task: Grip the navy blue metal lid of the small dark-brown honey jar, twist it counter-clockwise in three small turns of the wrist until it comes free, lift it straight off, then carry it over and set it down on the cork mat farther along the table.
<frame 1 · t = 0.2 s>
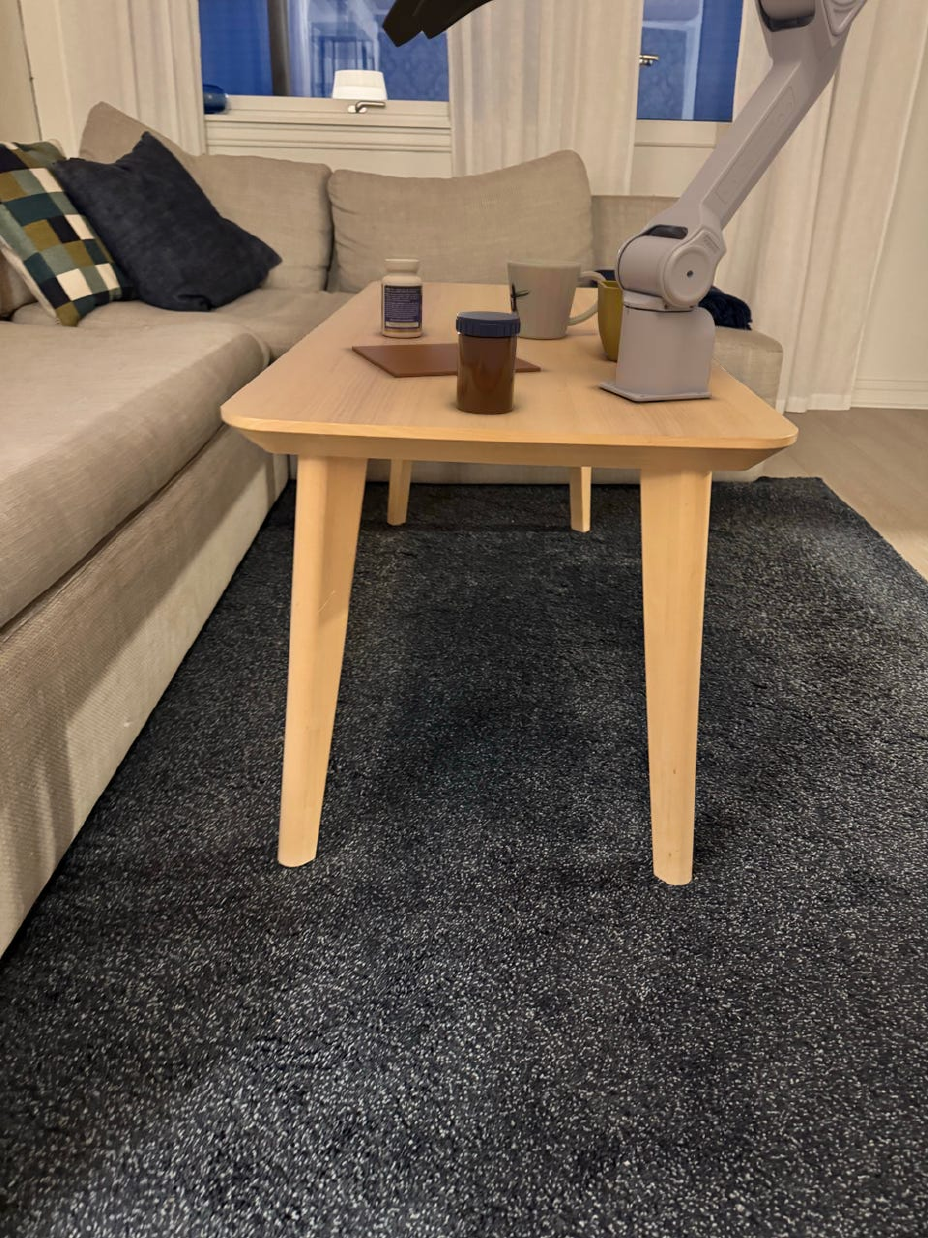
hand: (405, 32, 74), 31 cm above the table, tool tilted 45°, fingers open, 7 cm apart
mug: (554, 337, 132), on the table
pill bottle: (401, 336, 128), on the table
mat: (442, 359, 111), on the table
flower pot: (628, 360, 117), on the table
lid: (488, 319, 85), point 8 cm above the table, screwed on, not yet turned
jar: (484, 407, 89), on the table
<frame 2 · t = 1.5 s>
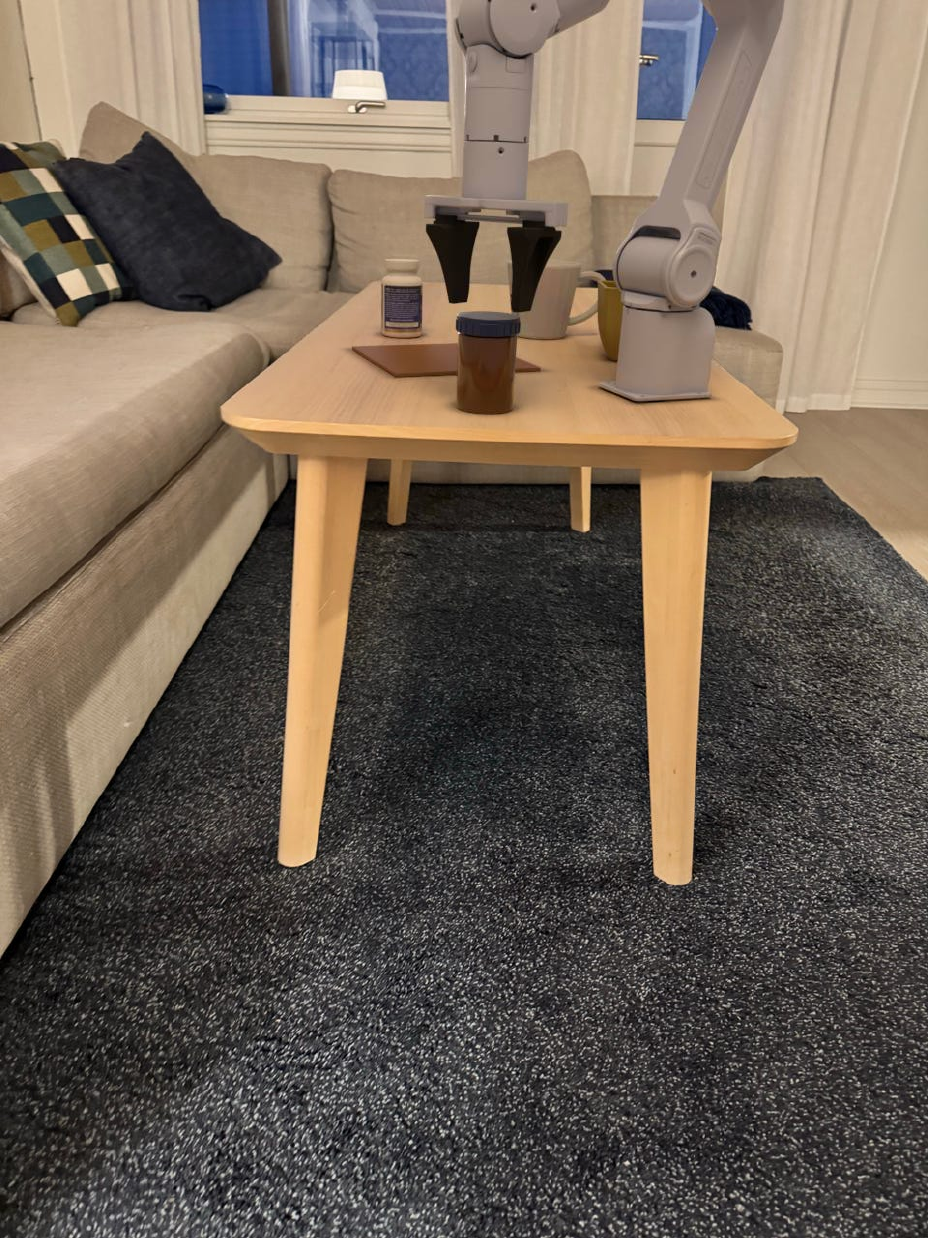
hand: (489, 306, 85), 9 cm above the table, tool pointing down, fingers open, 7 cm apart
nothing on the table moved.
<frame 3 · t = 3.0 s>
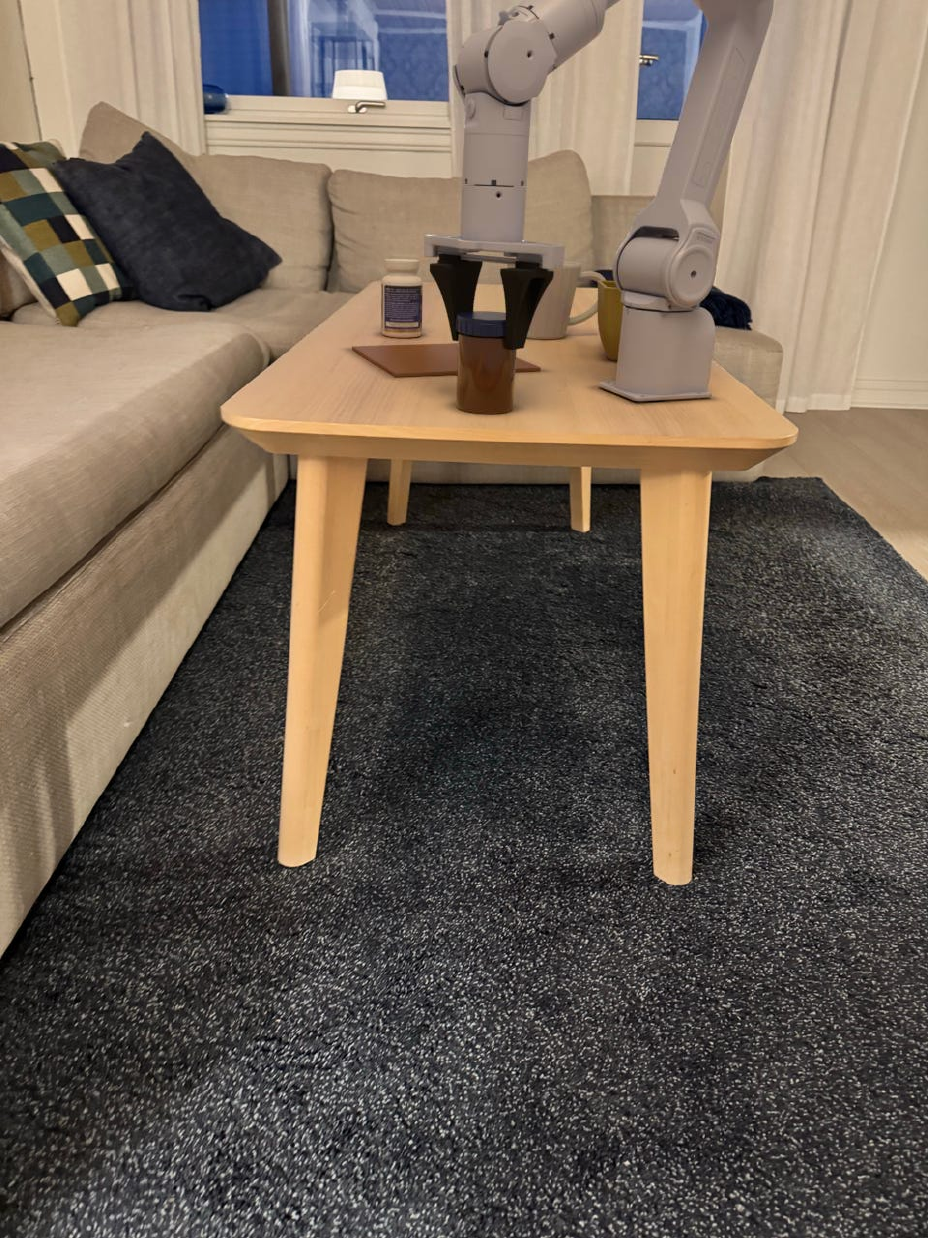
hand: (487, 344, 86), 6 cm above the table, tool pointing down, fingers closed on lid, 6 cm apart
lid: (488, 319, 85), point 8 cm above the table, screwed on, not yet turned, touching gripper
everything else where it was.
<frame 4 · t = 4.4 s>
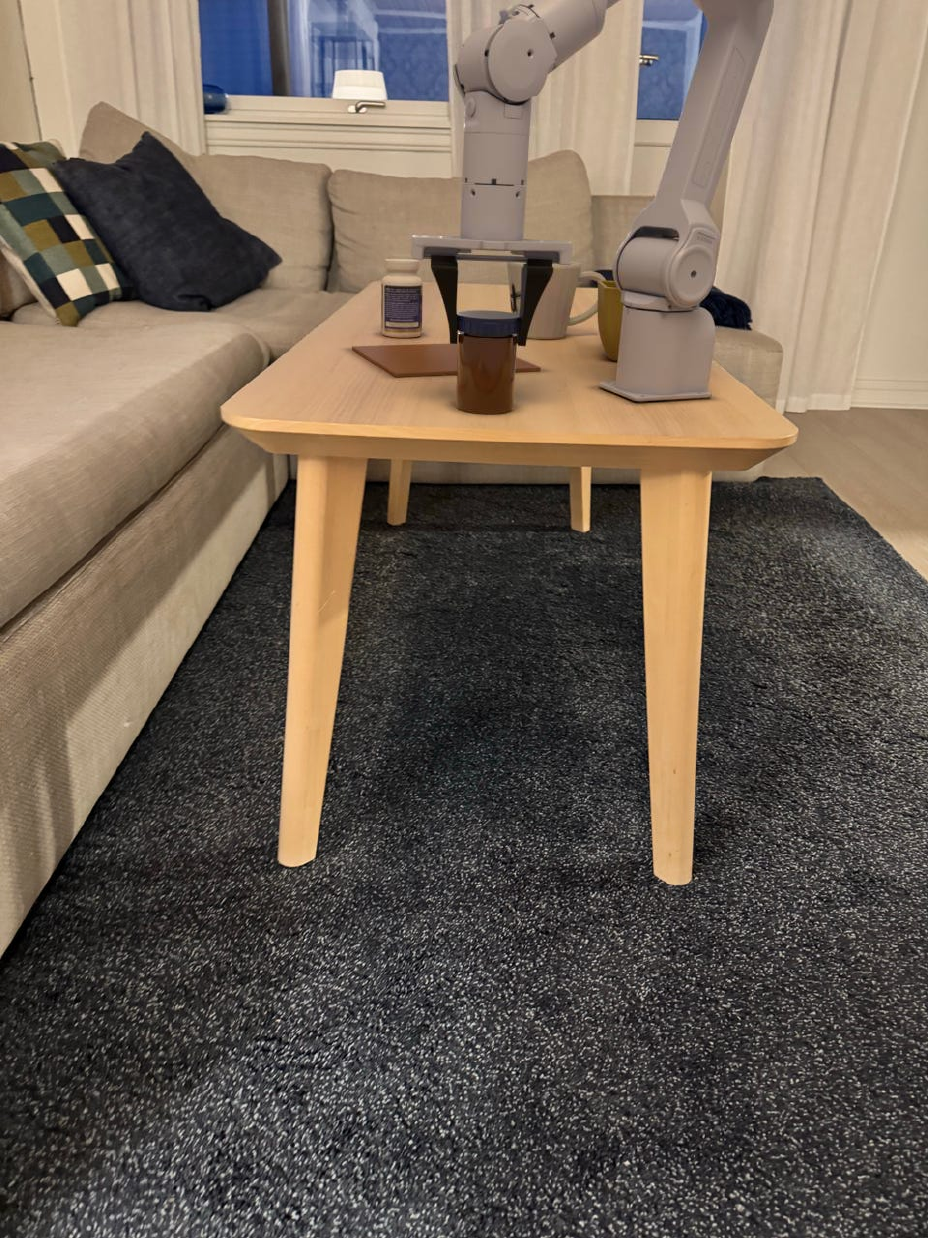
hand: (486, 343, 86), 6 cm above the table, tool pointing down, fingers closed on lid, 6 cm apart
lid: (488, 318, 85), point 8 cm above the table, turned 40° so far, risen 0.1 cm, still on its thread, touching gripper
everything else where it was.
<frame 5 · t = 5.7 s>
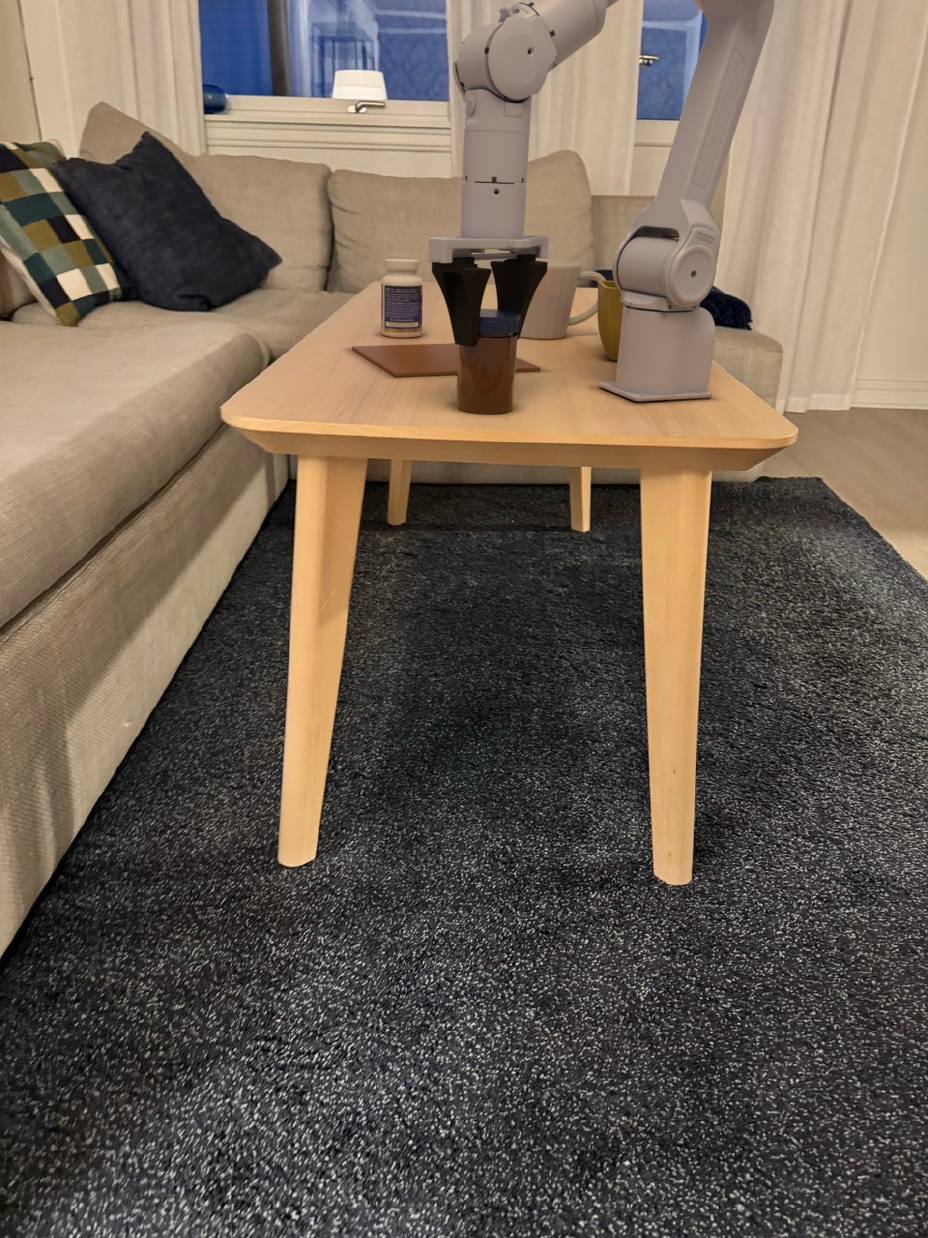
hand: (487, 341, 86), 6 cm above the table, tool pointing down, fingers closed on lid, 6 cm apart
lid: (488, 316, 85), point 9 cm above the table, turned 85° so far, risen 0.2 cm, still on its thread, touching gripper
everything else where it was.
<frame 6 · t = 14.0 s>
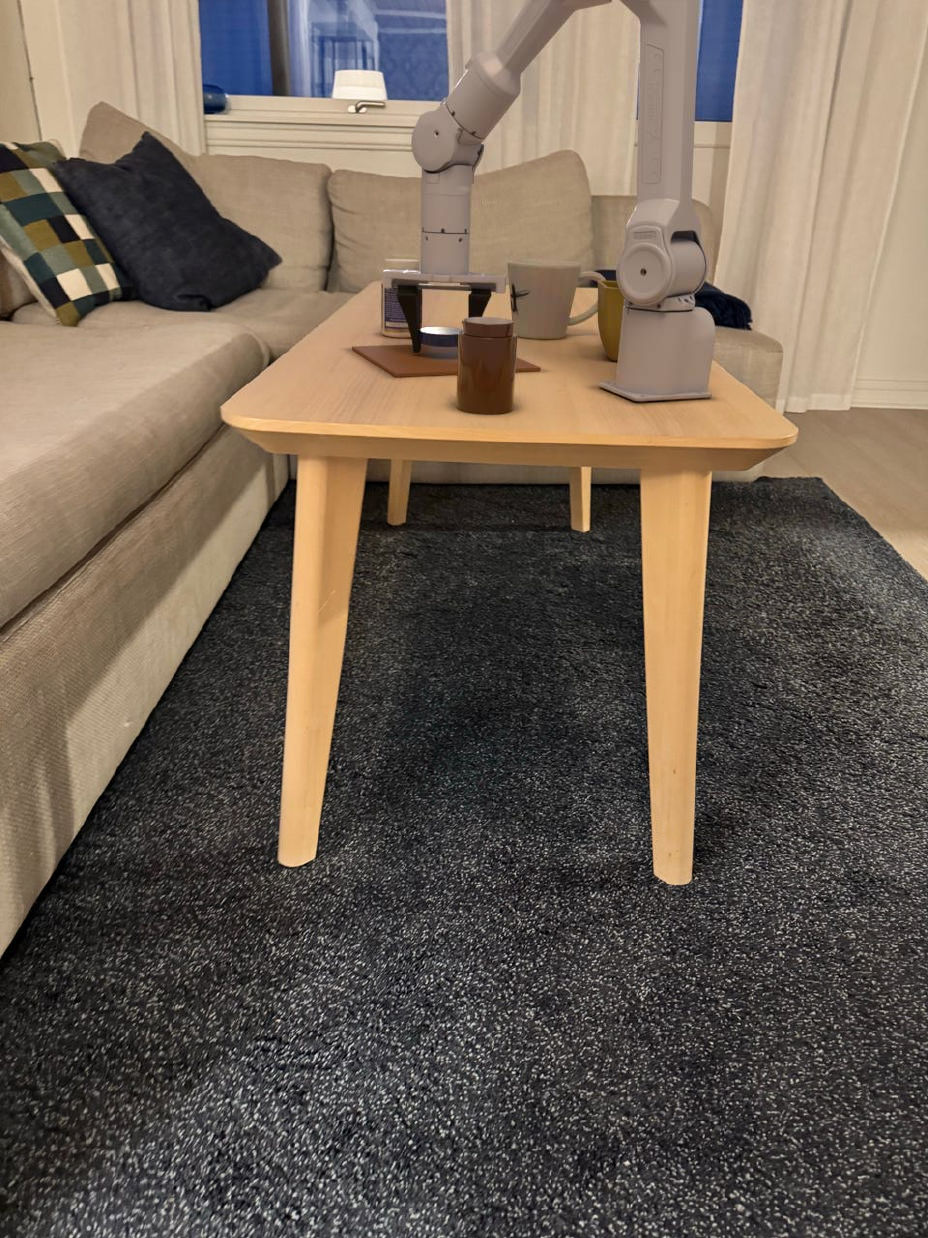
hand: (442, 352, 111), 1 cm above the table, tool pointing down, fingers closed on lid, 6 cm apart
lid: (443, 333, 110), point 3 cm above the table, off its thread, touching gripper
everything else where it was.
when the fingers open (2 cm above the table, at t = 21.8 s): lid drops 3 cm, resting on mat.
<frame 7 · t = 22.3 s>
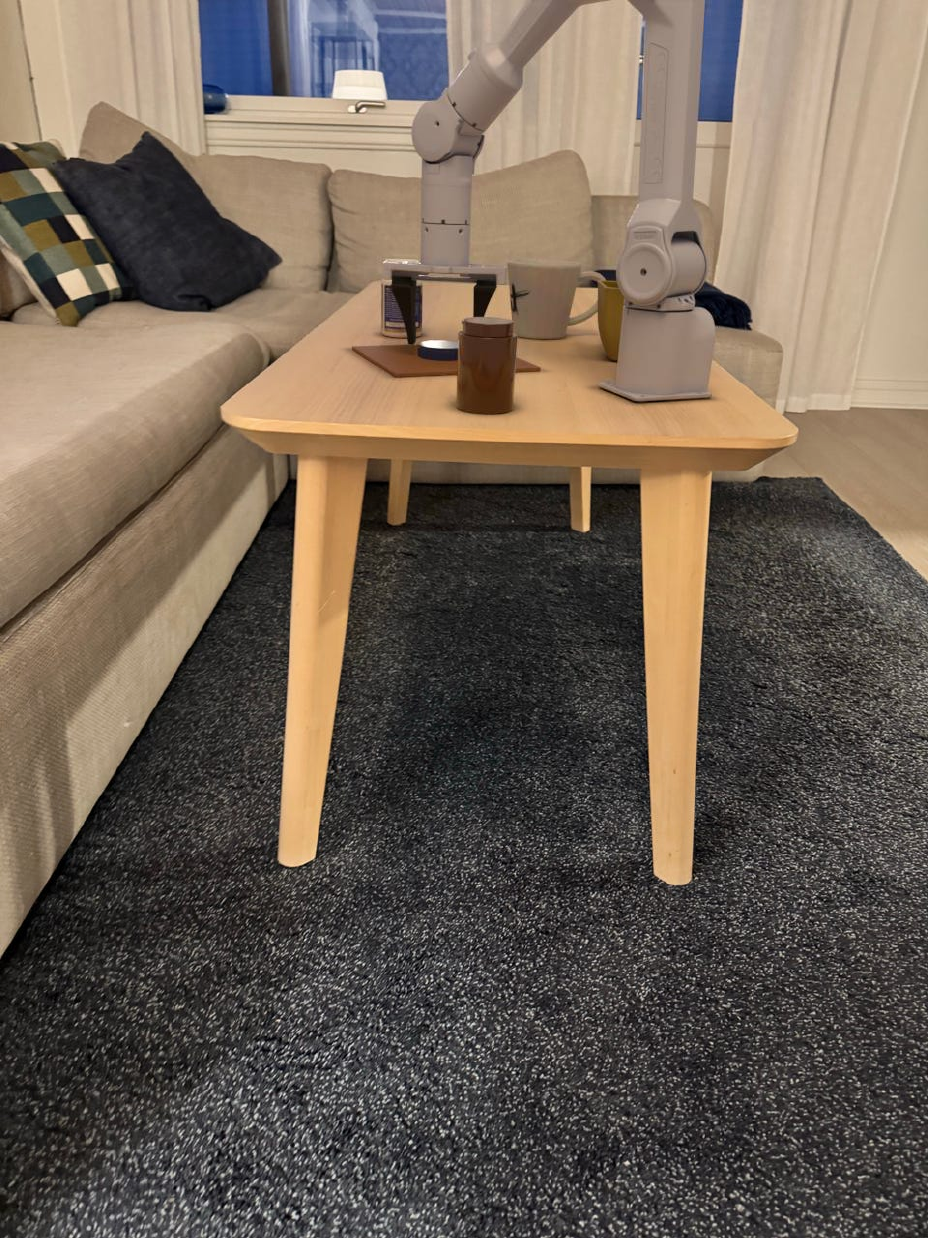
hand: (442, 344, 111), 2 cm above the table, tool pointing down, fingers open, 7 cm apart
lid: (442, 347, 111), point 1 cm above the table, off its thread, touching mat
everything else where it was.
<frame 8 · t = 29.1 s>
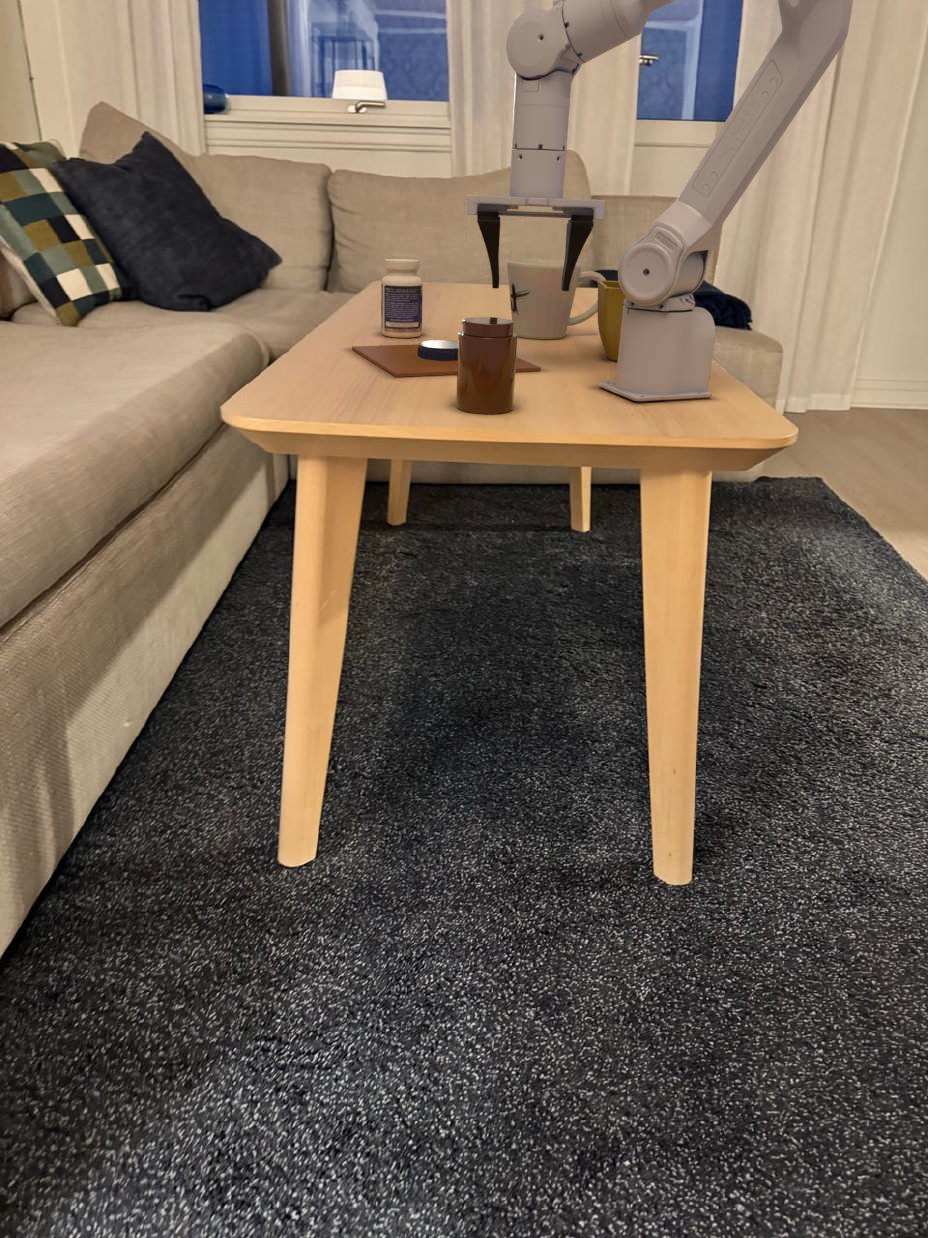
hand: (530, 288, 100), 9 cm above the table, tool pointing down, fingers open, 7 cm apart
nothing on the table moved.
at the end: lid came off its thread; lid inside the target area on the mat (0.0 cm from its centre), point 1.5 cm above the mat's base; the gripper is holding nothing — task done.
